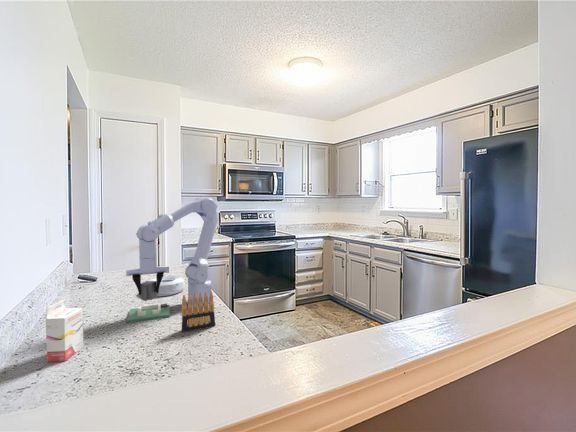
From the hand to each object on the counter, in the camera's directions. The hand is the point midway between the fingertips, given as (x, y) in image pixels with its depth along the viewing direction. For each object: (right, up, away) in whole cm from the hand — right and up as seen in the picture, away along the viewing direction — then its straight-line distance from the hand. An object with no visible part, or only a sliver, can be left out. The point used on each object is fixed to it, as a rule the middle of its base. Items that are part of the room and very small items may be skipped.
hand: (149, 293), depth 114 cm
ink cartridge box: (-10, -10, -29) cm, 32 cm away
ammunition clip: (+22, -9, -12) cm, 27 cm away
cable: (-6, -7, +30) cm, 32 cm away
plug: (0, -2, 0) cm, 2 cm away
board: (0, -8, 0) cm, 8 cm away
